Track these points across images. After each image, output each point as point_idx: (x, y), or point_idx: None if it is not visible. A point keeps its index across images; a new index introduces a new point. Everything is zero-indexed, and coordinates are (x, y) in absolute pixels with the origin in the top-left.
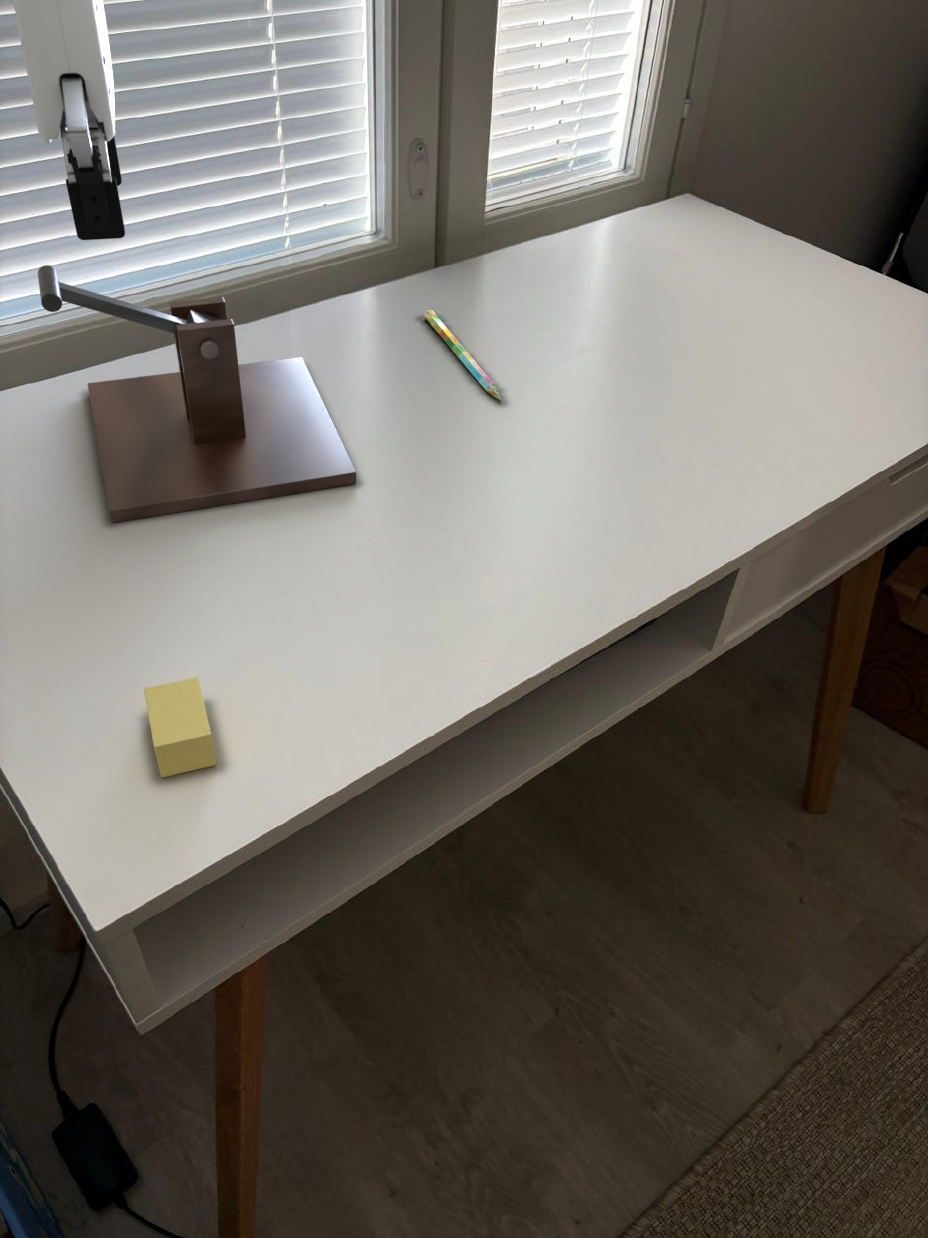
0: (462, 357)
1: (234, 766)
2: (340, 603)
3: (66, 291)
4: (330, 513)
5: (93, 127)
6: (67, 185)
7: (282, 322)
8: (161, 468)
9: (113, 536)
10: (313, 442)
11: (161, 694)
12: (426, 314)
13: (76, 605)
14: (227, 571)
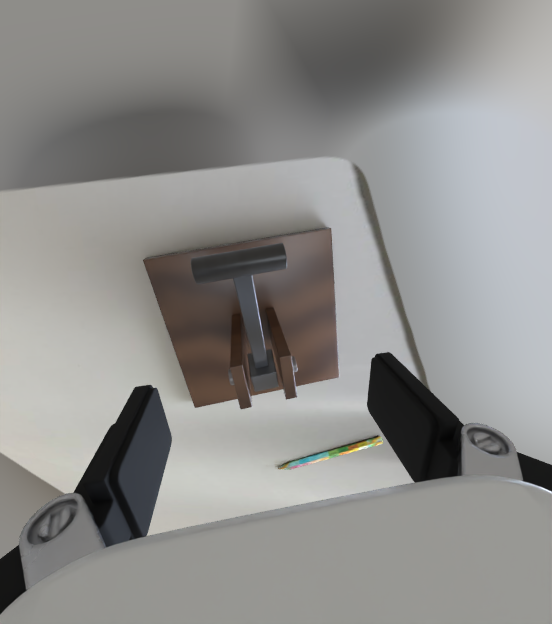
0: (324, 455)
1: None
2: (72, 394)
3: (234, 284)
4: (164, 388)
5: (436, 472)
6: (90, 473)
7: (399, 359)
8: (200, 293)
9: (130, 259)
10: (230, 385)
11: None
12: (379, 439)
13: (42, 239)
14: (96, 334)
